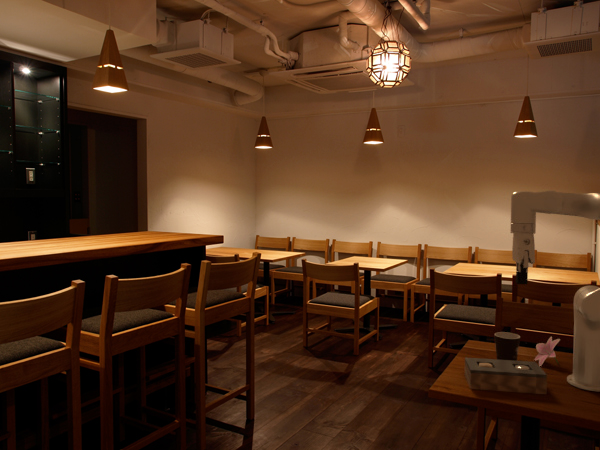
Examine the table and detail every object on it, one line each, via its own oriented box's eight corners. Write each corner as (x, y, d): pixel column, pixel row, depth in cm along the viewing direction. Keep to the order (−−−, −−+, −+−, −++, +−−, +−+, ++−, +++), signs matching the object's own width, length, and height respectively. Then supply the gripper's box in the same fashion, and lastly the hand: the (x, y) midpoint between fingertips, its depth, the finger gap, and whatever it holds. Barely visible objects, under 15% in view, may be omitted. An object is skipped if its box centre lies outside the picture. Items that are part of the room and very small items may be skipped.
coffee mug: (509, 368, 167) (510, 340, 167) (488, 361, 175) (489, 334, 174) (530, 362, 173) (530, 335, 172) (509, 356, 180) (509, 330, 180)
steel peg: (526, 382, 153) (527, 365, 153) (530, 386, 149) (530, 369, 149) (513, 381, 154) (513, 364, 154) (516, 386, 150) (517, 368, 150)
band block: (534, 379, 156) (535, 361, 156) (546, 394, 145) (546, 374, 144) (464, 375, 160) (464, 357, 160) (470, 388, 149) (470, 369, 148)
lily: (537, 358, 181) (526, 337, 180) (570, 351, 174) (559, 329, 173) (537, 378, 171) (526, 356, 170) (572, 371, 164) (560, 348, 163)
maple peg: (490, 379, 155) (490, 363, 155) (493, 384, 151) (493, 367, 151) (477, 378, 156) (477, 362, 156) (479, 383, 152) (480, 366, 152)
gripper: (542, 230, 150) (540, 288, 150) (528, 227, 164) (527, 280, 165) (516, 230, 151) (515, 287, 152) (505, 227, 166) (504, 279, 167)
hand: (521, 283), depth 159 cm, fingers closed
